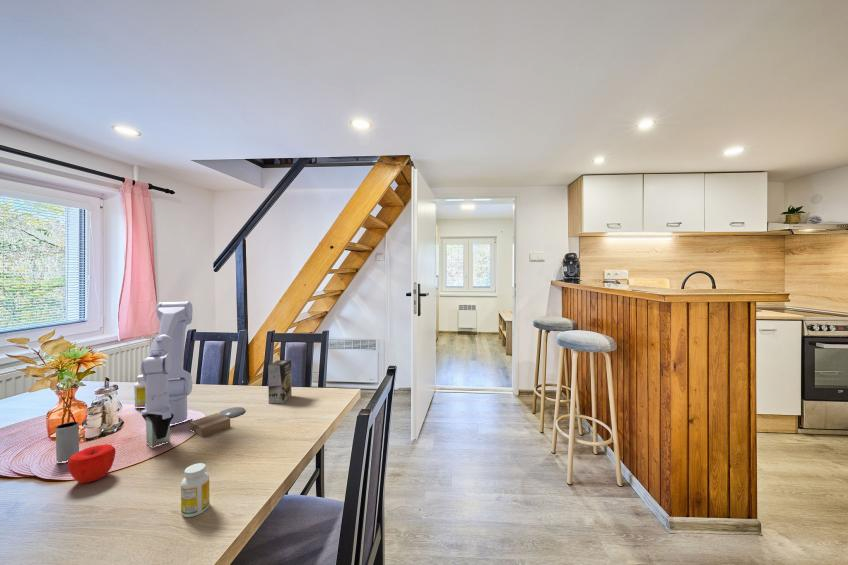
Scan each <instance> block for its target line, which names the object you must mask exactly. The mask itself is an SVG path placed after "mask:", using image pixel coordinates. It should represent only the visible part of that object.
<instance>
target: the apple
mask: <svg viewBox="0 0 848 565" xmlns="http://www.w3.org/2000/svg"><path fill="white" fill-rule="evenodd" d="M115 458H116V447H115V446H113V445H112V444H109V443H106V444H99V445H94V446H89V447H85V448H83V449H82V450H79V452H78V453H76V454H74V455H72V456H71V457H70V459H69V460H68V463H67V470H68V472H69V474H70V475H71V477H72V478H73V479H74V481H76V482H78V483H79V484H86V483H91V482H94V481H98V480H100V479H102V478H104V477H105V476H107V474H108V473H109V472H110V470H111V469H112V467H113V464H114V461H115Z"/></svg>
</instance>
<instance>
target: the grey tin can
mask: <svg viewBox="0 0 848 565" xmlns="http://www.w3.org/2000/svg"><path fill="white" fill-rule="evenodd" d="M79 429H80V428H79V422H78V421H70V422H69V421H68V422H65V423H61V424H59V425H57V426H56V427H55V447H56V448H55V452H56V453H55V454H56V462H57V461H58V462H62V461H67V460H69V459H70V457H71V456H72V455H74V454H76V453H78V452H79V451H80V439H79V438H80V436H79V434H80V433H79V431H80V430H79Z"/></svg>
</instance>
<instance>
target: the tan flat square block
mask: <svg viewBox="0 0 848 565" xmlns="http://www.w3.org/2000/svg"><path fill="white" fill-rule="evenodd" d="M230 427H231V418H228V417H226V416H223V415H221V414H219V412H216V413H213V414H210V415H207V416H203V417H201V418H197V419H195V420H190V421H189V431H190V430H192V431H194V432H195V433H196V434H195V433H194V434H195V435H197V436H199V437H201V438H204V437H207V436H210V435H213V434H215V433H218V432H220V431H222V430H225V429H228V428H230ZM192 431H191V432H192Z"/></svg>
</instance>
